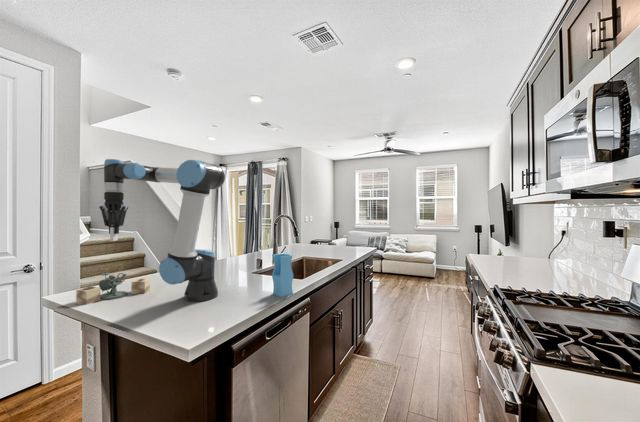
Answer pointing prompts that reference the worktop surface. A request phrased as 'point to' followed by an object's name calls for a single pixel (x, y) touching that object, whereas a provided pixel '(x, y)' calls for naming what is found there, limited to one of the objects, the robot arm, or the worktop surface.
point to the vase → (282, 275)
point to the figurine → (109, 284)
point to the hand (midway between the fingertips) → (113, 240)
